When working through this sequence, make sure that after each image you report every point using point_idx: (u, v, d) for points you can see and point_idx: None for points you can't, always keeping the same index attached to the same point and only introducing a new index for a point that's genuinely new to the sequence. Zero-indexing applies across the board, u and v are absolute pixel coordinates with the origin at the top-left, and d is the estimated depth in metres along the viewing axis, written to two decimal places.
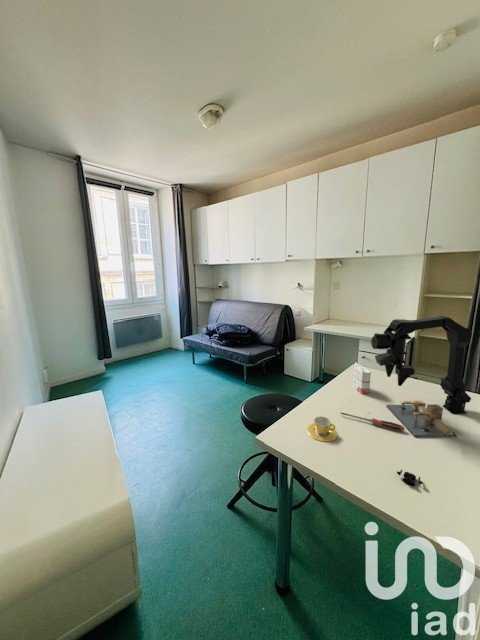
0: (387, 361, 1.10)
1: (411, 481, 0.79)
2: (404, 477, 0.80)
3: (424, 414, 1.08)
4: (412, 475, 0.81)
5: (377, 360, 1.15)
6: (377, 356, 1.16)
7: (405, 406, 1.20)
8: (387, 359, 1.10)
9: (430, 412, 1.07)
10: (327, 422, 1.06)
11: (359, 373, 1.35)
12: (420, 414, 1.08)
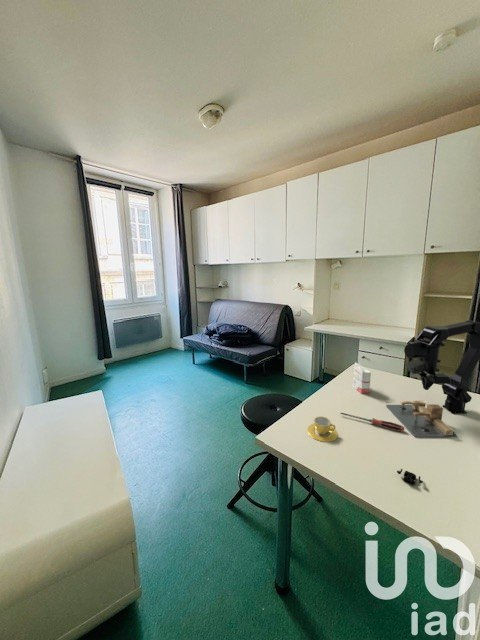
0: (421, 370, 1.07)
1: (411, 480, 0.79)
2: (404, 476, 0.81)
3: (424, 414, 1.08)
4: (412, 474, 0.82)
5: (409, 368, 1.11)
6: (409, 364, 1.12)
7: (405, 406, 1.20)
8: (421, 367, 1.07)
9: (430, 412, 1.07)
10: (327, 422, 1.06)
11: (359, 373, 1.35)
12: (420, 414, 1.08)
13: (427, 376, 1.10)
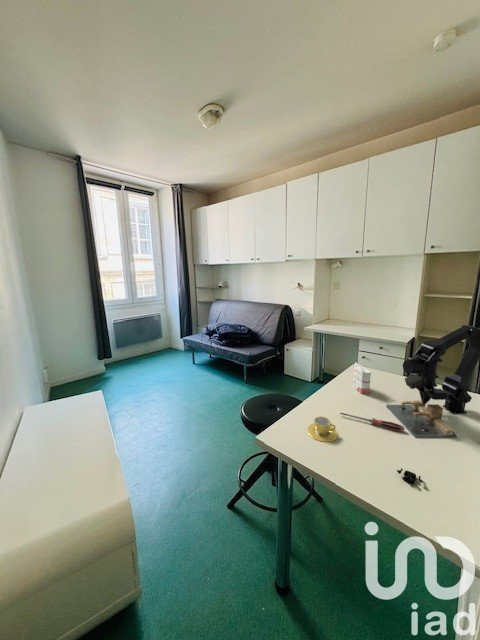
0: (419, 385, 1.09)
1: (411, 479, 0.79)
2: (404, 476, 0.81)
3: (424, 414, 1.08)
4: (412, 474, 0.82)
5: (407, 383, 1.13)
6: (407, 379, 1.14)
7: (405, 406, 1.20)
8: (419, 383, 1.08)
9: (430, 412, 1.07)
10: (327, 422, 1.06)
11: (359, 373, 1.35)
12: (420, 414, 1.08)
13: (425, 391, 1.11)
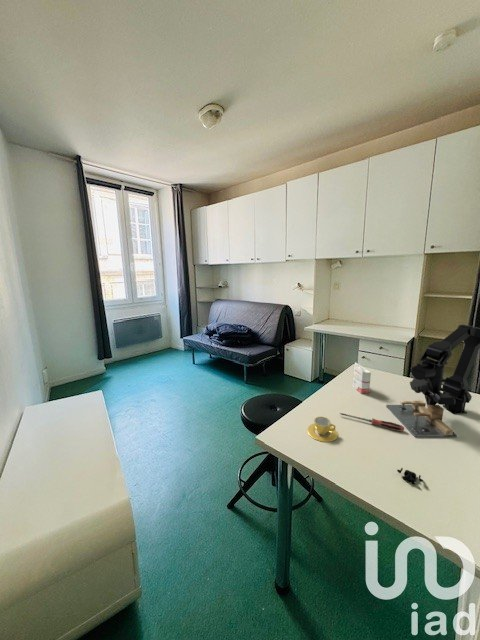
0: (425, 389, 1.05)
1: (411, 479, 0.80)
2: (404, 475, 0.81)
3: (425, 414, 1.08)
4: (412, 473, 0.82)
5: (412, 387, 1.09)
6: (412, 382, 1.10)
7: (405, 406, 1.20)
8: (424, 387, 1.05)
9: (431, 412, 1.07)
10: (327, 422, 1.06)
11: (359, 373, 1.35)
12: (421, 414, 1.08)
13: (431, 395, 1.08)
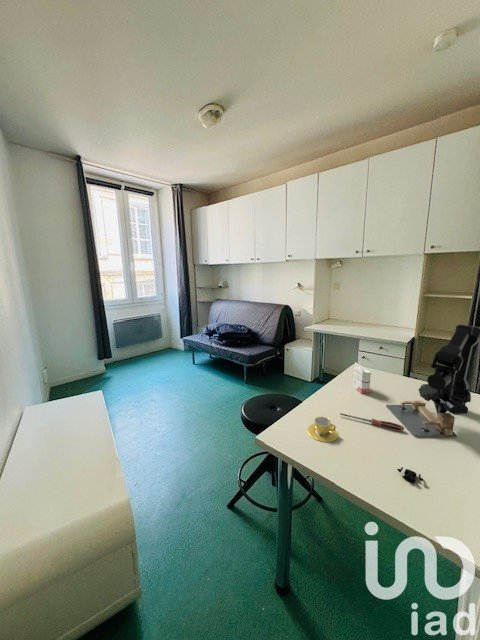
0: (435, 397, 0.99)
1: (412, 478, 0.80)
2: (405, 474, 0.81)
3: (434, 423, 1.02)
4: (413, 472, 0.82)
5: (422, 394, 1.03)
6: (421, 389, 1.04)
7: (405, 406, 1.20)
8: (435, 394, 0.99)
9: (441, 421, 1.01)
10: (327, 422, 1.06)
11: (359, 373, 1.35)
12: (430, 423, 1.02)
13: (441, 403, 1.02)
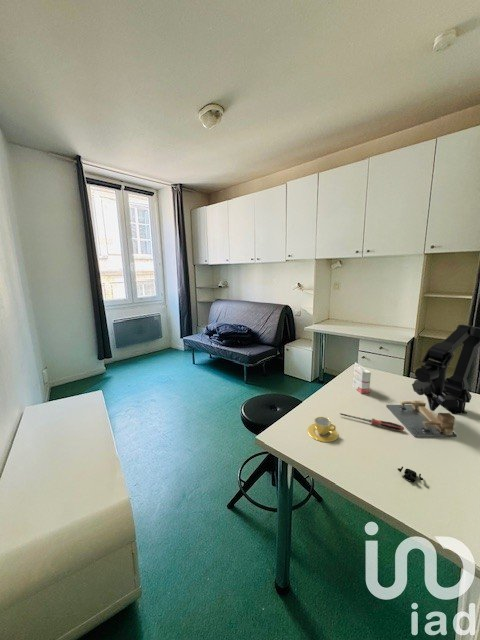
0: (428, 391, 1.03)
1: (412, 477, 0.80)
2: (405, 474, 0.82)
3: (434, 423, 1.02)
4: (413, 472, 0.83)
5: (415, 389, 1.08)
6: (415, 384, 1.09)
7: (405, 406, 1.20)
8: (427, 389, 1.03)
9: (441, 421, 1.01)
10: (328, 422, 1.06)
11: (359, 373, 1.35)
12: (430, 423, 1.02)
13: (433, 397, 1.06)
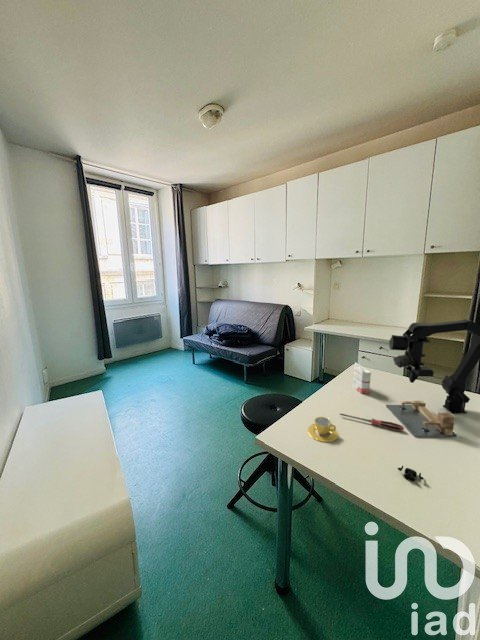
0: (406, 363, 1.14)
1: (412, 477, 0.80)
2: (405, 473, 0.82)
3: (434, 423, 1.02)
4: (413, 471, 0.83)
5: (396, 362, 1.18)
6: (395, 358, 1.19)
7: (405, 406, 1.20)
8: (406, 361, 1.14)
9: (441, 421, 1.01)
10: (328, 423, 1.06)
11: (359, 373, 1.35)
12: (430, 423, 1.02)
13: (412, 369, 1.17)
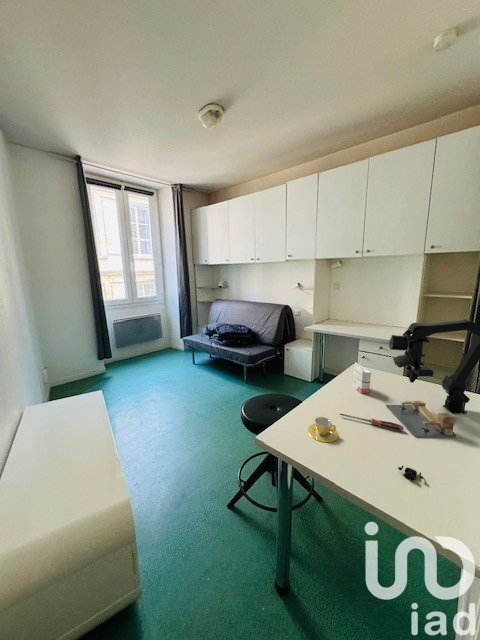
0: (406, 363, 1.14)
1: (412, 476, 0.81)
2: (405, 472, 0.82)
3: (434, 423, 1.02)
4: (413, 470, 0.83)
5: (395, 362, 1.18)
6: (395, 358, 1.19)
7: (405, 406, 1.20)
8: (406, 361, 1.14)
9: (441, 421, 1.01)
10: (328, 423, 1.06)
11: (359, 373, 1.35)
12: (430, 423, 1.02)
13: (412, 369, 1.17)
